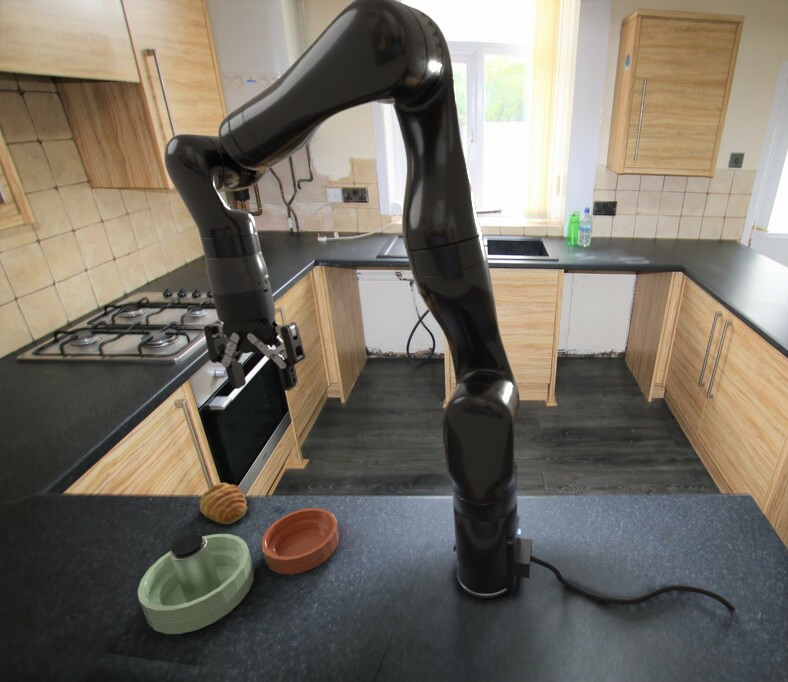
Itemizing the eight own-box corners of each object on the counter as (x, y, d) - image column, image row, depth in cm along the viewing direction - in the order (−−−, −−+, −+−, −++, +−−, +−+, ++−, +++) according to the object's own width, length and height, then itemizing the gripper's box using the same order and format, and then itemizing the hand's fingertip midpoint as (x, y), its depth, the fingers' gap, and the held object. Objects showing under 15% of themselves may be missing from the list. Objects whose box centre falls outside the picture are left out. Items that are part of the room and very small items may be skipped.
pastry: (258, 512, 86) (254, 495, 84) (219, 534, 81) (213, 516, 79) (235, 491, 91) (230, 475, 90) (196, 510, 86) (191, 494, 85)
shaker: (226, 580, 71) (212, 533, 68) (205, 605, 67) (189, 557, 64) (200, 577, 72) (185, 530, 68) (177, 602, 68) (160, 554, 64)
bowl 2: (351, 527, 82) (348, 511, 81) (318, 580, 72) (314, 563, 70) (291, 521, 83) (287, 505, 82) (250, 572, 73) (245, 555, 72)
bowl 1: (273, 562, 75) (267, 537, 73) (212, 643, 63) (203, 616, 61) (197, 553, 77) (189, 529, 75) (122, 631, 64) (111, 604, 62)
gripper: (176, 291, 65) (205, 396, 71) (269, 291, 63) (292, 400, 69) (216, 280, 72) (239, 376, 78) (301, 279, 70) (319, 379, 76)
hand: (264, 387), depth 73 cm, fingers open, 8 cm apart
